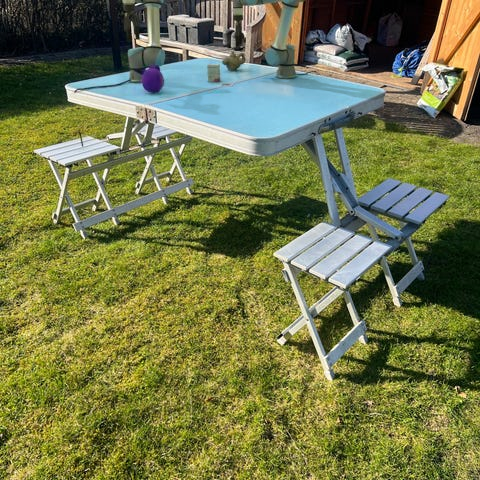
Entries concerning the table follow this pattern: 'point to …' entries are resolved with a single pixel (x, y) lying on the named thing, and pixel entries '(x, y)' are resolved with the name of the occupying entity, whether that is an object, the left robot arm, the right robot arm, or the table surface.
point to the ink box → (213, 73)
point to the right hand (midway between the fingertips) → (239, 45)
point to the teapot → (233, 61)
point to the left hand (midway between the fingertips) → (133, 40)
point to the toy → (152, 79)
